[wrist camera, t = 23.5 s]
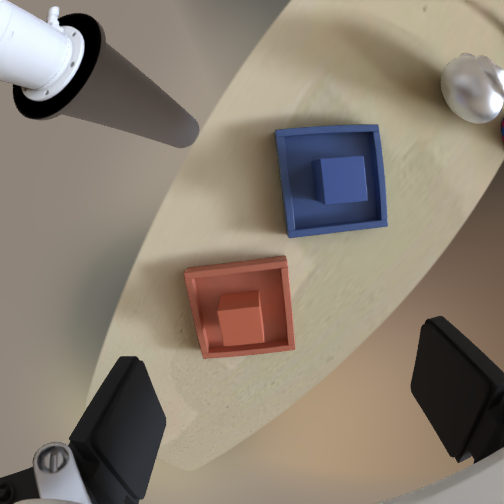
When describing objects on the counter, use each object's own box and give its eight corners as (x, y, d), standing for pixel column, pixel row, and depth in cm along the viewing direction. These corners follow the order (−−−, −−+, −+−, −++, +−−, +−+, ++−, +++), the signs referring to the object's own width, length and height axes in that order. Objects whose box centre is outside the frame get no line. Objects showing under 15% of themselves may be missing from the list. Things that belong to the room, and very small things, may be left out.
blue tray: (274, 132, 31) (275, 129, 29) (372, 126, 30) (378, 124, 28) (286, 234, 34) (288, 238, 32) (381, 223, 33) (388, 226, 31)
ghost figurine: (485, 112, 29) (531, 105, 19) (449, 136, 30) (499, 130, 20) (456, 57, 27) (498, 38, 17) (416, 75, 28) (459, 52, 19)
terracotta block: (221, 294, 35) (216, 310, 31) (259, 290, 35) (259, 306, 31) (227, 327, 36) (224, 346, 32) (263, 323, 36) (264, 342, 32)
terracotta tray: (187, 267, 35) (183, 273, 33) (285, 255, 34) (287, 260, 32) (205, 350, 38) (203, 358, 36) (293, 341, 37) (295, 349, 35)
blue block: (311, 160, 31) (319, 158, 27) (349, 157, 31) (363, 155, 27) (315, 201, 32) (325, 205, 28) (353, 197, 32) (367, 200, 28)
